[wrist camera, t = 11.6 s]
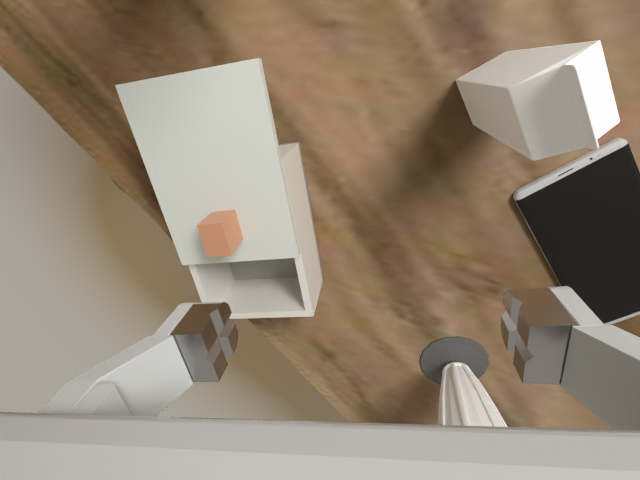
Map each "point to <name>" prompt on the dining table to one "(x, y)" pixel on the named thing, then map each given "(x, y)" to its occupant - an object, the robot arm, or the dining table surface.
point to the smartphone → (591, 227)
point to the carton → (271, 263)
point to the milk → (543, 98)
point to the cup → (460, 382)
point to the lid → (214, 162)
